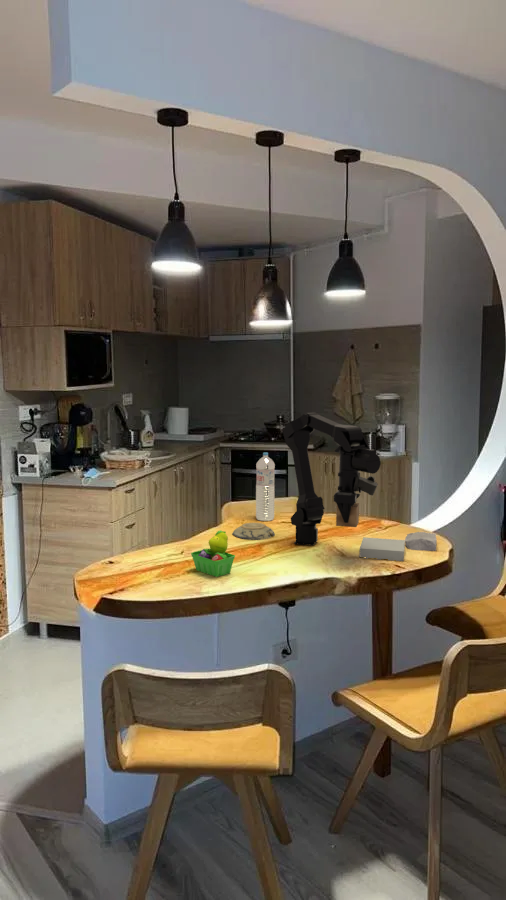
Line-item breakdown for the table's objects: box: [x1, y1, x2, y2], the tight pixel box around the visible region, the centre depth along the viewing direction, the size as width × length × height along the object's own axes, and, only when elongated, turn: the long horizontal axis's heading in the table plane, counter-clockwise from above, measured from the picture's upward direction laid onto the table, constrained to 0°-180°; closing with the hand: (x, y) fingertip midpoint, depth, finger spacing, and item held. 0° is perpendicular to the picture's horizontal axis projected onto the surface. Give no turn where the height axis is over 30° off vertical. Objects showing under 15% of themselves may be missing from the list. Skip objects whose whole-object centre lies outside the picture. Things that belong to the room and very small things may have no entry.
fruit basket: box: [190, 529, 236, 578], centre depth 194 cm, size 11×9×11 cm
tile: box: [359, 536, 406, 562], centre depth 213 cm, size 13×13×3 cm
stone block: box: [404, 531, 438, 552], centre depth 222 cm, size 12×5×10 cm
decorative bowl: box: [231, 522, 276, 541], centre depth 235 cm, size 15×4×15 cm
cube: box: [335, 502, 360, 528], centre depth 207 cm, size 6×6×6 cm
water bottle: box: [255, 452, 276, 522], centre depth 255 cm, size 7×7×25 cm
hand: (347, 520), depth 207 cm, fingers closed on cube, 6 cm apart
